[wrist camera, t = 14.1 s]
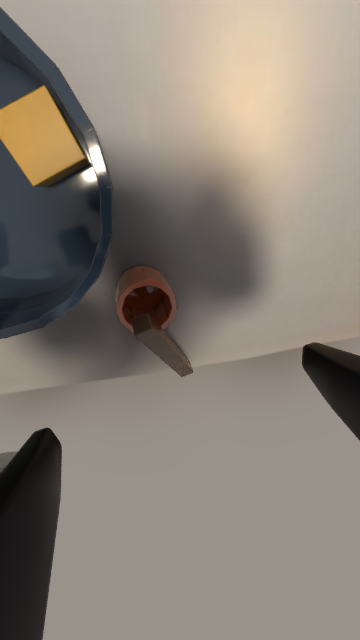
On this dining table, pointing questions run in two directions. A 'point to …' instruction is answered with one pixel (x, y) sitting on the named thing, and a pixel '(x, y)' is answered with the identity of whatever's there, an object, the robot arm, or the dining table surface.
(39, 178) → the mustard block
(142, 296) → the holder
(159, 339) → the stick
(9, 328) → the bowl
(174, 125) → the dining table surface
